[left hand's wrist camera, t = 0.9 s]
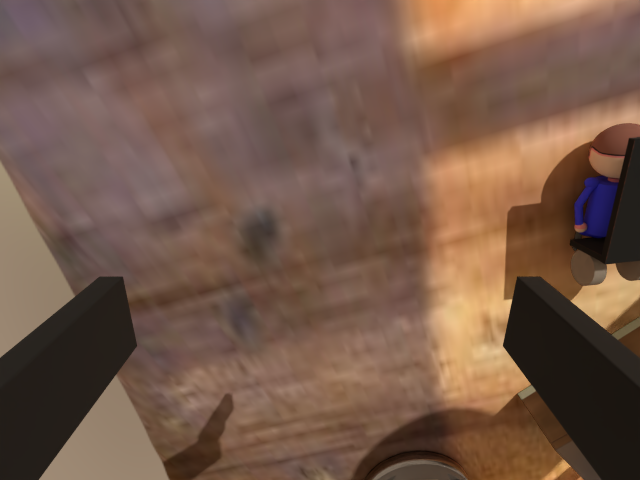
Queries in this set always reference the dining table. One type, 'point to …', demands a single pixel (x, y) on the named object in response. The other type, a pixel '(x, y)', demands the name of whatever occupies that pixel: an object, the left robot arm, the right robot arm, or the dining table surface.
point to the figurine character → (610, 209)
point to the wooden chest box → (635, 338)
